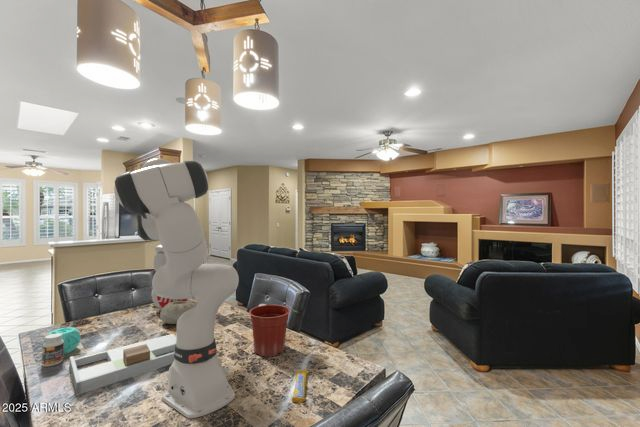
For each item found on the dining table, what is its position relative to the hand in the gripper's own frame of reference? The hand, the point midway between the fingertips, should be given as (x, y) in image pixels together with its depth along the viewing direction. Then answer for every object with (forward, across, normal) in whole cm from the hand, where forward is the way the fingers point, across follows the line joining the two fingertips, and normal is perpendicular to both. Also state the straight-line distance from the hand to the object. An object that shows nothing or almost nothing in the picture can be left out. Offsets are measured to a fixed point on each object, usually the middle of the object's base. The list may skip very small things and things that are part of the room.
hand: (178, 279), depth 118 cm
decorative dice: (+28, +20, -38) cm, 52 cm away
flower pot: (+28, -14, +36) cm, 48 cm away
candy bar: (+29, +4, +59) cm, 66 cm away
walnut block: (+26, +18, +1) cm, 31 cm away
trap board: (+28, +15, -4) cm, 32 cm away
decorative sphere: (+28, -34, -43) cm, 61 cm away
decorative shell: (+28, -22, -23) cm, 42 cm away
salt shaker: (+28, -28, +23) cm, 46 cm away
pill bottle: (+28, +27, -30) cm, 49 cm away
